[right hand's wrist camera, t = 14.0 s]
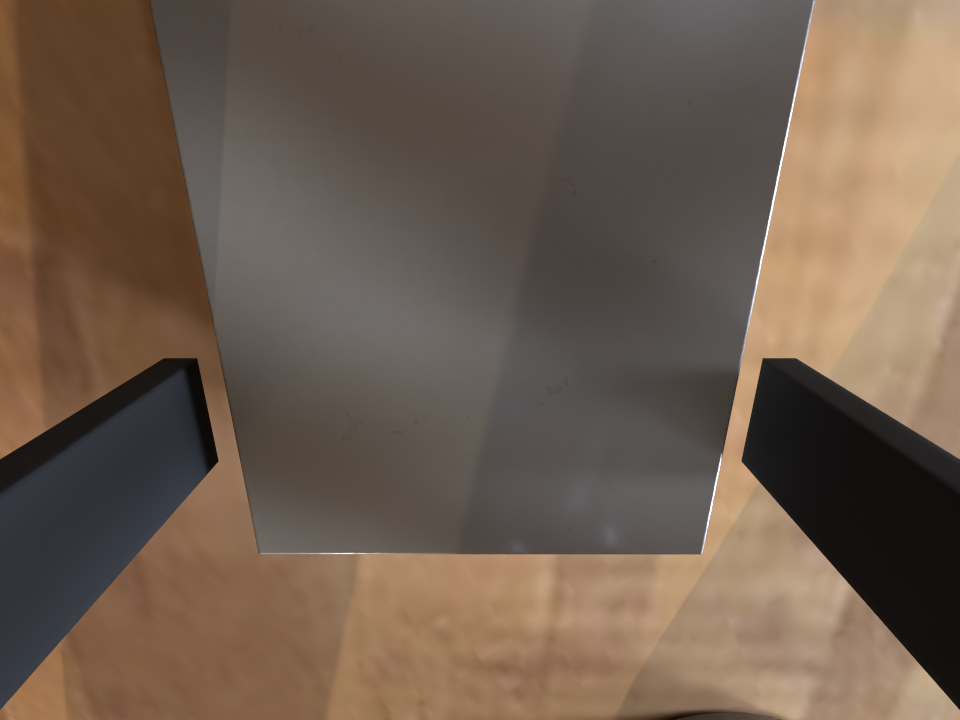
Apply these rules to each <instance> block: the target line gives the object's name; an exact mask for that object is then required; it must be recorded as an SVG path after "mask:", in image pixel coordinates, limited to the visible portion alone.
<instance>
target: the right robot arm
mask: <svg viewBox="0 0 960 720" xmlns="http://www.w3.org/2000/svg"><path fill="white" fill-rule="evenodd" d="M217 462H218V456H217V452H216V447H215V442H214V437H213V432H212V428H211V423H210V418H209V413H208V408H207V404H206V399H205V394H204V389H203V384H202V380H201V375H200V370H199V365H198V360H197V358H164V359H162V360H161V361H159V362H157V363H156V364H154V365H153V366H151V367H149V368H148V369H146V370H144V371H143V372H141V373H140V374H138V375H136V376H135V377H133V378H131V379H130V380H128V381H127V382H125V383H123V384H122V385H120V386H119V387H117V388H115V389H114V390H112V391H110V392H109V393H107V394H106V395H104V396H102V397H101V398H99V399H97V400H96V401H94V402H93V403H91V404H89V405H88V406H86V407H85V408H83V409H81V410H80V411H78V412H76V413H75V414H73V415H72V416H70V417H68V418H67V419H65V420H63V421H62V422H60V423H59V424H57V425H55V426H54V427H52V428H50V429H49V430H47V431H46V432H44V433H42V434H41V435H39V436H38V437H36V438H34V439H33V440H31V441H29V442H28V443H26V444H25V445H23V446H21V447H20V448H18V449H16V450H15V451H13V452H12V453H10V454H8V455H7V456H5V457H4V458H2V459H0V709H1V708H2V707H3V706H4V705H5V704H6V703H7V701H8V700H9V699H10V698H11V697H12V696H13V695H14V694H15V692H16V691H17V690H18V689H19V688H20V687H21V686H22V684H23V683H24V682H25V681H26V680H27V679H28V678H29V676H30V675H31V674H32V673H33V672H34V671H35V670H36V668H37V667H38V666H39V665H40V664H41V663H42V662H43V660H44V659H45V658H46V657H47V656H48V655H49V654H50V653H51V651H52V650H53V649H54V648H55V647H56V646H57V645H58V643H59V642H60V641H61V640H62V639H63V638H64V637H65V635H66V634H67V633H68V632H69V631H70V630H71V629H72V627H73V626H74V625H75V624H76V623H77V622H78V621H79V619H80V618H81V617H82V616H83V615H84V614H85V613H86V612H87V610H88V609H89V608H90V607H91V606H92V605H93V604H94V602H95V601H96V600H97V599H98V598H99V597H100V596H101V594H102V593H103V592H104V591H105V590H106V589H107V588H108V586H109V585H110V584H111V583H112V582H113V581H114V580H115V578H116V577H117V576H118V575H119V574H120V573H121V572H122V571H123V569H124V568H125V567H126V566H127V565H128V564H129V563H130V561H131V560H132V559H133V558H134V557H135V556H136V555H137V553H138V552H139V551H140V550H141V549H142V548H143V547H144V545H145V544H146V543H147V542H148V541H149V540H150V539H151V537H152V536H153V535H154V534H155V533H156V532H157V531H158V530H159V528H160V527H161V526H162V525H163V524H164V523H165V522H166V520H167V519H168V518H169V517H170V516H171V515H172V514H173V512H174V511H175V510H176V509H177V508H178V507H179V506H180V504H181V503H182V502H183V501H184V500H185V499H186V498H187V496H188V495H189V494H190V493H191V492H192V491H193V490H194V489H195V487H196V486H197V485H198V484H199V483H200V482H201V481H202V479H203V478H204V477H205V476H206V475H207V474H208V473H209V471H210V470H211V469H212V468H213V467H214V466H215V465H216V463H217ZM742 462H743V463H744V465H745V466H746V467H747V468H748V469H749V470H750V471H751V473H752V474H753V475H754V476H755V477H756V478H757V479H758V481H759V482H760V483H761V484H762V485H763V486H764V487H765V489H766V490H767V491H768V492H769V493H770V494H771V495H772V497H773V498H774V499H775V500H776V501H777V502H778V503H779V504H780V506H781V507H782V508H783V509H784V510H785V511H786V512H787V514H788V515H789V516H790V517H791V518H792V519H793V520H794V522H795V523H796V524H797V525H798V526H799V527H800V528H801V530H802V531H803V532H804V533H805V534H806V535H807V536H808V538H809V539H810V540H811V541H812V542H813V543H814V544H815V545H816V547H817V548H818V549H819V550H820V551H821V552H822V553H823V555H824V556H825V557H826V558H827V559H828V560H829V561H830V563H831V564H832V565H833V566H834V567H835V568H836V569H837V571H838V572H839V573H840V574H841V575H842V576H843V577H844V579H845V580H846V581H847V582H848V583H849V584H850V585H851V586H852V588H853V589H854V590H855V591H856V592H857V593H858V594H859V596H860V597H861V598H862V599H863V600H864V601H865V602H866V604H867V605H868V606H869V607H870V608H871V609H872V610H873V612H874V613H875V614H876V615H877V616H878V617H879V618H880V619H881V621H882V622H883V623H884V624H885V625H886V626H887V627H888V629H889V630H890V631H891V632H892V633H893V634H894V635H895V637H896V638H897V639H898V640H899V641H900V642H901V643H902V645H903V646H904V647H905V648H906V649H907V650H908V651H909V653H910V654H911V655H912V656H913V657H914V658H915V659H916V660H917V662H918V663H919V664H920V665H921V666H922V667H923V668H924V670H925V671H926V672H927V673H928V674H929V675H930V676H931V678H932V679H933V680H934V681H935V682H936V683H937V684H938V686H939V687H940V688H941V689H942V690H943V691H944V692H945V694H946V695H947V696H948V697H949V698H950V699H951V700H952V701H953V703H954V704H955V705H956V706H957V707H958V708H959V709H960V459H958V458H956V457H955V456H953V455H952V454H950V453H948V452H947V451H945V450H944V449H942V448H940V447H939V446H937V445H935V444H934V443H932V442H931V441H929V440H927V439H926V438H924V437H922V436H921V435H919V434H918V433H916V432H914V431H913V430H911V429H909V428H908V427H906V426H905V425H903V424H901V423H900V422H898V421H897V420H895V419H893V418H892V417H890V416H888V415H887V414H885V413H884V412H882V411H880V410H879V409H877V408H875V407H874V406H872V405H871V404H869V403H867V402H866V401H864V400H863V399H861V398H859V397H858V396H856V395H854V394H853V393H851V392H850V391H848V390H846V389H845V388H843V387H841V386H840V385H838V384H837V383H835V382H833V381H832V380H830V379H828V378H827V377H825V376H824V375H822V374H820V373H819V372H817V371H816V370H814V369H812V368H811V367H809V366H807V365H806V364H804V363H803V362H801V361H799V360H798V359H796V358H763V360H762V365H761V370H760V375H759V380H758V384H757V389H756V394H755V399H754V404H753V408H752V413H751V418H750V423H749V428H748V432H747V437H746V442H745V447H744V452H743V456H742ZM676 720H779V719H776V718H772V717H767V716H762V715H756V714H748V713H710V714H701V715H695V716H689V717H684V718H680V719H676Z"/></svg>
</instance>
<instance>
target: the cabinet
mask: <svg viewBox="0 0 960 720" xmlns="http://www.w3.org/2000/svg"><path fill="white" fill-rule="evenodd" d="M814 3H815V0H149V4H150V9H151V14H152V19H153V24H154V29H155V34H156V39H157V44H158V49H159V54H160V59H161V64H162V69H163V74H164V79H165V84H166V89H167V94H168V100H169V105H170V110H171V115H172V120H173V125H174V130H175V135H176V140H177V145H178V150H179V155H180V160H181V165H182V170H183V175H184V180H185V185H186V190H187V195H188V200H189V205H190V210H191V215H192V220H193V225H194V230H195V235H196V240H197V245H198V250H199V255H200V260H201V265H202V270H203V275H204V281H205V286H206V291H207V296H208V301H209V306H210V311H211V316H212V321H213V326H214V331H215V336H216V341H217V346H218V351H219V356H220V361H221V366H222V371H223V376H224V381H225V386H226V391H227V396H228V401H229V406H230V411H231V416H232V421H233V426H234V431H235V436H236V441H237V446H238V451H239V456H240V461H241V467H242V472H243V477H244V482H245V487H246V492H247V497H248V502H249V507H250V512H251V517H252V522H253V527H254V532H255V537H256V542H257V547H258V552H259V553H260V554H702V553H703V548H704V543H705V538H706V533H707V528H708V523H709V518H710V513H711V509H712V504H713V499H714V494H715V489H716V484H717V479H718V474H719V469H720V464H721V460H722V455H723V450H724V445H725V440H726V435H727V430H728V425H729V420H730V415H731V410H732V406H733V401H734V396H735V391H736V386H737V381H738V376H739V371H740V366H741V361H742V356H743V352H744V347H745V342H746V337H747V332H748V327H749V322H750V317H751V312H752V307H753V302H754V298H755V293H756V288H757V283H758V278H759V273H760V268H761V263H762V258H763V253H764V248H765V244H766V239H767V234H768V229H769V224H770V219H771V214H772V209H773V204H774V199H775V194H776V190H777V185H778V180H779V175H780V170H781V165H782V160H783V155H784V150H785V145H786V141H787V136H788V131H789V126H790V121H791V116H792V111H793V106H794V101H795V96H796V91H797V87H798V82H799V77H800V72H801V67H802V62H803V57H804V52H805V47H806V42H807V37H808V33H809V28H810V23H811V18H812V13H813V8H814Z"/></svg>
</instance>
